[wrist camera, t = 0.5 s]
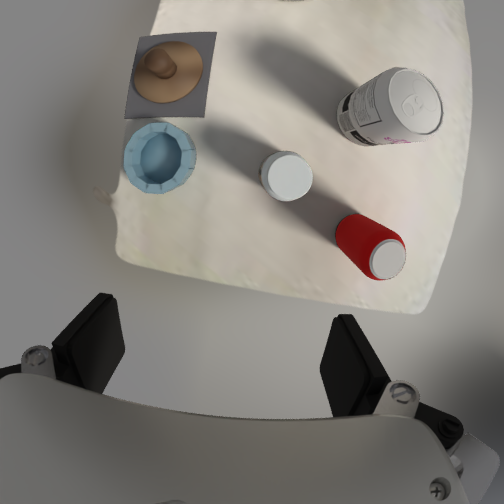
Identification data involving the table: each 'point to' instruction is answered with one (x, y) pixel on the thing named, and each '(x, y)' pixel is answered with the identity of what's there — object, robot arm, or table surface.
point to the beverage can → (371, 246)
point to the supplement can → (392, 109)
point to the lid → (168, 72)
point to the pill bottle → (285, 176)
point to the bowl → (159, 158)
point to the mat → (189, 104)
